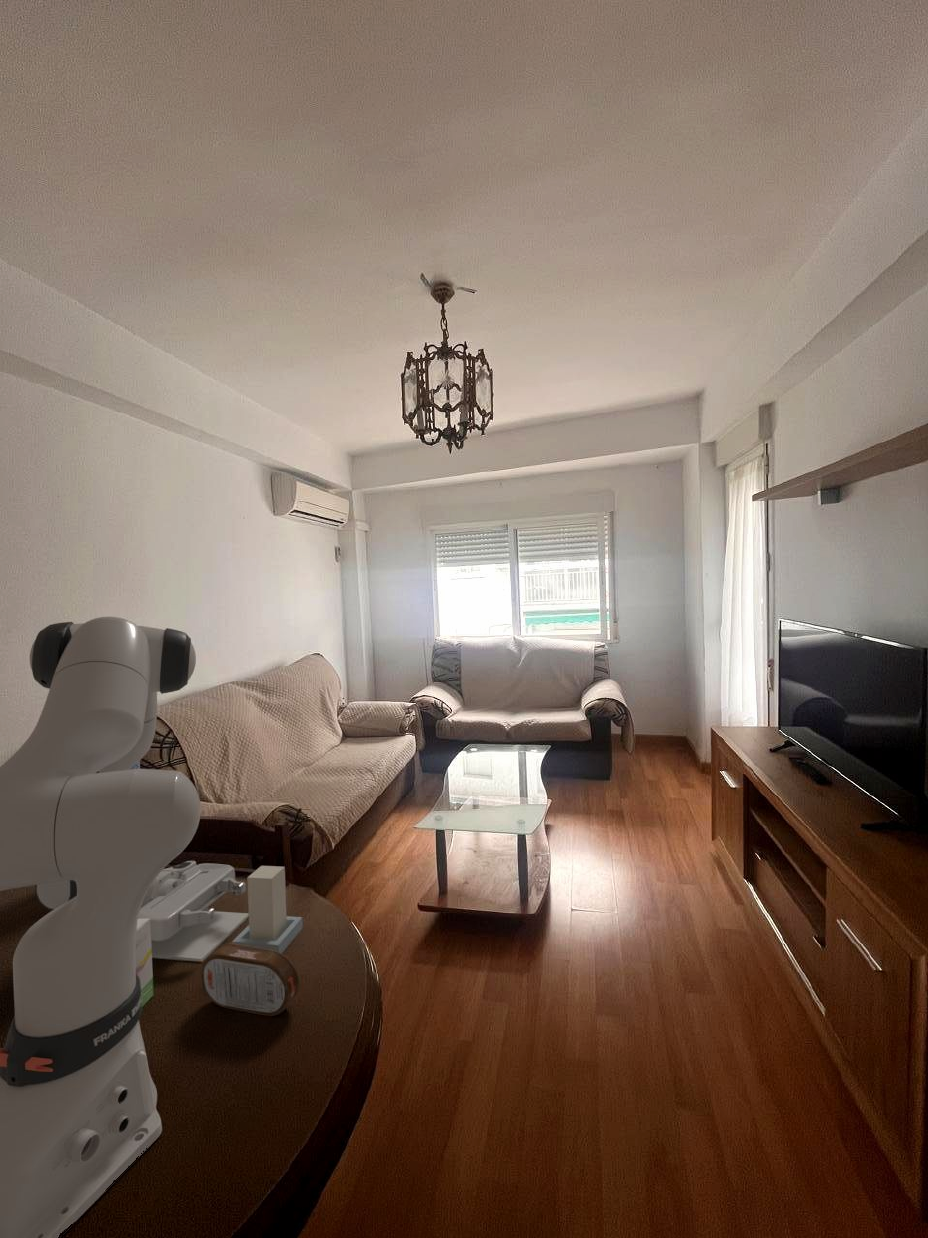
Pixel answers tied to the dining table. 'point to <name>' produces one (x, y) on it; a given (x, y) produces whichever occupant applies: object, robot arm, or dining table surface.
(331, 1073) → the dining table surface
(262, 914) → the cream block
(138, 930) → the ink box
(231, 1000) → the tin
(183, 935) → the mat
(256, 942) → the frame
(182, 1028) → the dining table surface
